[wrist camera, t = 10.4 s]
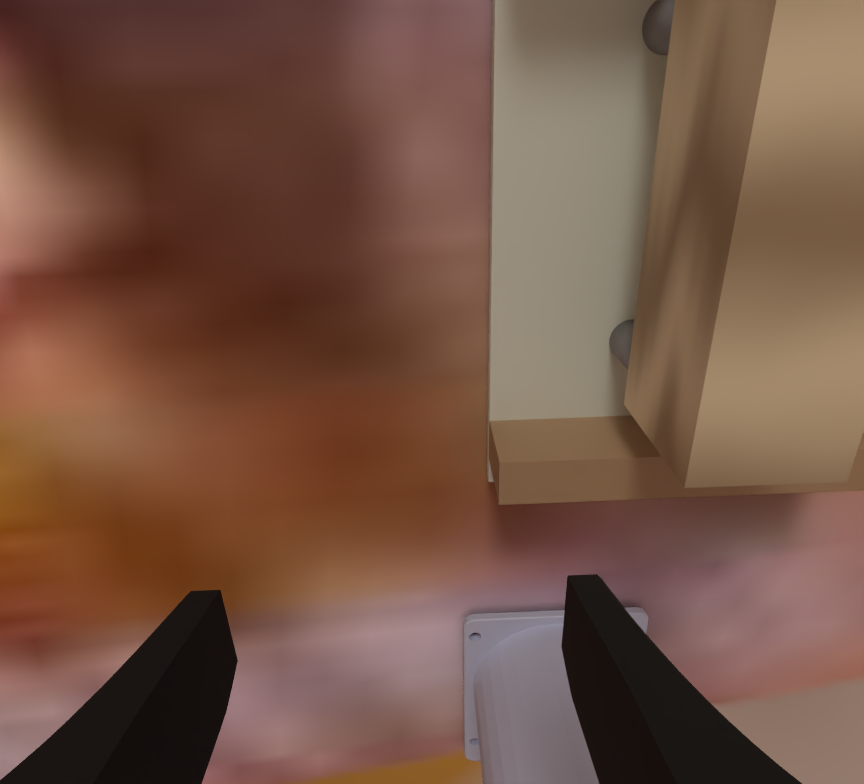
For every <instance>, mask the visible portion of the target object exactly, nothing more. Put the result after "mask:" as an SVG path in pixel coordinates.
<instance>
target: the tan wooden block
mask: <svg viewBox="0 0 864 784" xmlns="http://www.w3.org/2000/svg"><path fill="white" fill-rule="evenodd" d="M624 405H625V407H626V408H627V409H628V411H629V412H630V414H631V415H632V416H633V418H634V419H635V420H636V422H637V423H638V425H639V426H640V427H641V429H642V430H643V432H644V433H645V434H646V436H647V437H648V438H649V440H650V441H651V443H652V444H653V445H654V447H655V448H656V450H657V451H658V452H659V454H660V455H661V456H662V458H663V459H664V461H665V462H666V463H667V465H668V466H669V468H670V469H671V470H672V472H673V473H674V474H675V476H676V477H677V479H678V480H679V481H680V483H681V484H682V485H683V487H684V488H700V487H728V486H755V485H782V484H810V483H837V482H847V480H848V477H849V474H850V471H851V468H852V465H853V462H854V459H855V456H856V453H857V450H858V447H859V444H860V441H861V438H862V435H863V432H864V0H675V4H674V12H673V20H672V28H671V35H670V43H669V51H668V59H667V67H666V75H665V83H664V91H663V99H662V107H661V114H660V122H659V130H658V138H657V146H656V154H655V162H654V170H653V178H652V186H651V193H650V201H649V209H648V217H647V225H646V233H645V241H644V249H643V257H642V265H641V272H640V280H639V288H638V296H637V304H636V312H635V320H634V328H633V336H632V343H631V351H630V359H629V367H628V375H627V383H626V391H625V399H624Z"/></svg>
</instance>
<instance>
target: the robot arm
mask: <svg viewBox="0 0 864 784" xmlns="http://www.w3.org/2000/svg"><path fill="white" fill-rule="evenodd" d="M647 626H648V616H647V614H646V612H645V610H644V609H642V608H639V607H626V608H624V607H623V606H622V604H621V603H620V602H619V601H618V599H617V598H616V597H615V595H614V594H613V593H612V592H611V590H610V589H609V588H608V586H607V585H606V584H605V582H604V581H603V580H602V579H601V578H600V577H599V576H598V575H597V574H596V575H572V576H568V578H567V589H566V600H565V610H554V611H530V612H506V613H482V614H471V615H469V616H467V617H466V618H465V619H464V621H463V674H464V751H465V757H466V758H467V759H469V760H471V761H481V769H482V778H483V784H802V783H800V782H799V781H798V780H797V779H795V778H794V777H793V776H792V775H790V774H789V773H788V772H787V771H785V770H784V769H783V768H782V767H780V766H779V765H778V764H777V763H776V762H774V761H773V760H772V759H771V758H770V757H769V756H767V755H766V754H765V753H764V752H763V751H761V750H760V749H759V748H758V747H757V746H756V745H754V744H753V743H752V742H751V741H750V740H749V739H748V738H747V737H746V736H744V735H743V734H742V733H741V732H740V731H739V730H738V729H737V728H736V727H735V726H734V725H732V724H731V723H730V722H729V721H728V720H727V719H726V718H725V717H724V716H723V715H722V714H721V713H720V712H719V711H718V710H717V709H716V708H715V707H714V706H713V705H712V704H711V703H710V702H708V701H707V700H706V699H705V698H704V696H703V695H702V694H701V693H700V692H699V691H698V690H697V689H696V688H695V687H694V686H693V685H692V684H691V683H690V682H689V681H688V680H687V679H686V678H685V677H684V676H683V675H682V674H681V673H680V672H679V671H678V669H677V668H676V667H675V666H674V665H673V664H672V663H671V662H670V661H669V660H668V658H667V657H666V656H665V655H664V654H663V653H662V652H661V651H660V649H659V648H658V647H657V646H656V645H655V644H654V643H653V642H652V640H651V639H650V638H649V637H648V636H647V635H646V632H647ZM472 633H478V634H472ZM237 661H238V660H237V656H236V652H235V648H234V644H233V640H232V636H231V632H230V628H229V623H228V619H227V615H226V611H225V607H224V603H223V599H222V595H221V591H220V590H208V591H191V592H190V593H189V594H188V595H187V596H186V597H185V598H184V599H183V600H182V601H181V602H180V603H179V604H178V605H177V607H176V608H175V609H174V610H173V611H172V612H171V613H170V614H169V615H168V616H167V618H166V619H165V620H164V621H163V622H162V623H161V624H160V625H159V626H158V628H157V629H156V630H155V631H154V632H153V633H152V634H151V635H150V636H149V637H148V639H147V640H146V641H145V642H144V643H143V644H142V645H141V646H140V647H139V648H138V650H137V651H136V652H135V653H134V654H133V655H132V656H131V657H130V658H129V659H128V660H127V661H126V662H125V663H124V664H123V665H122V666H121V668H120V669H119V670H118V671H117V672H116V673H115V674H114V675H113V676H112V677H111V678H110V679H109V680H108V681H107V682H106V683H105V684H104V685H103V686H102V687H101V688H100V689H99V690H98V691H97V692H96V693H95V694H94V695H93V696H92V697H91V698H90V699H89V700H88V701H87V702H86V703H85V704H84V705H83V706H82V707H81V708H80V709H79V710H78V711H77V712H76V713H75V714H74V715H73V716H72V717H71V718H70V719H69V720H68V721H67V722H66V723H65V724H64V725H63V726H62V727H60V728H59V729H58V730H57V731H56V732H55V733H54V734H53V735H52V736H51V737H50V738H49V739H47V740H46V741H45V742H44V743H43V744H42V745H41V746H40V747H39V748H37V749H36V750H35V751H34V752H33V753H32V754H31V755H29V756H28V757H27V758H26V759H25V760H24V761H22V762H21V763H20V764H19V765H18V766H17V767H15V768H14V769H13V770H12V771H11V772H10V773H8V774H7V775H6V776H5V777H4V778H2V779H1V780H0V784H202V781H203V778H204V775H205V772H206V769H207V766H208V763H209V761H210V758H211V755H212V752H213V749H214V746H215V743H216V740H217V737H218V734H219V732H220V729H221V726H222V723H223V720H224V717H225V714H226V710H227V706H228V702H229V697H230V693H231V689H232V684H233V680H234V675H235V670H236V665H237Z"/></svg>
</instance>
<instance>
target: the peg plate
mask: <svg viewBox="0 0 864 784" xmlns="http://www.w3.org/2000/svg"><path fill="white" fill-rule="evenodd" d="M674 4H675V0H492V71H491V159H490V247H489V335H488V423H487V476H488V481H489V482H494V485H495V490H496V495H497V499H498V504H499V505H511V504H536V503H561V502H586V501H611V500H636V499H661V498H686V497H711V496H736V495H761V494H786V493H811V492H836V491H861V490H864V436H862V438H861V441H860V444H859V447H858V450H857V453H856V456H855V459H854V462H853V465H852V468H851V471H850V474H849V477H848V480H847V482H837V483H810V484H782V485H755V486H728V487H700V488H684V487H683V485H682V484H681V483H680V481H679V480H678V479H677V477H676V476H675V474H674V473H673V472H672V470H671V469H670V468H669V466H668V465H667V463H666V462H665V461H664V459H663V458H662V456H661V455H660V454H659V452H658V451H657V450H656V448H655V447H654V445H653V444H652V443H651V441H650V440H649V438H648V437H647V436H646V434H645V433H644V432H643V430H642V429H641V427H640V426H639V425H638V423H637V422H636V420H635V419H634V418H633V416H632V415H631V414H630V412H629V411H628V409H627V408H626V407H625V405H624V399H625V391H626V383H627V375H628V367H629V359H630V351H631V343H632V336H633V328H634V320H635V312H636V304H637V296H638V288H639V280H640V272H641V265H642V257H643V249H644V241H645V233H646V225H647V217H648V209H649V201H650V193H651V186H652V178H653V170H654V162H655V154H656V146H657V138H658V130H659V122H660V114H661V107H662V99H663V91H664V83H665V75H666V67H667V59H668V51H669V43H670V35H671V28H672V20H673V12H674Z"/></svg>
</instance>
